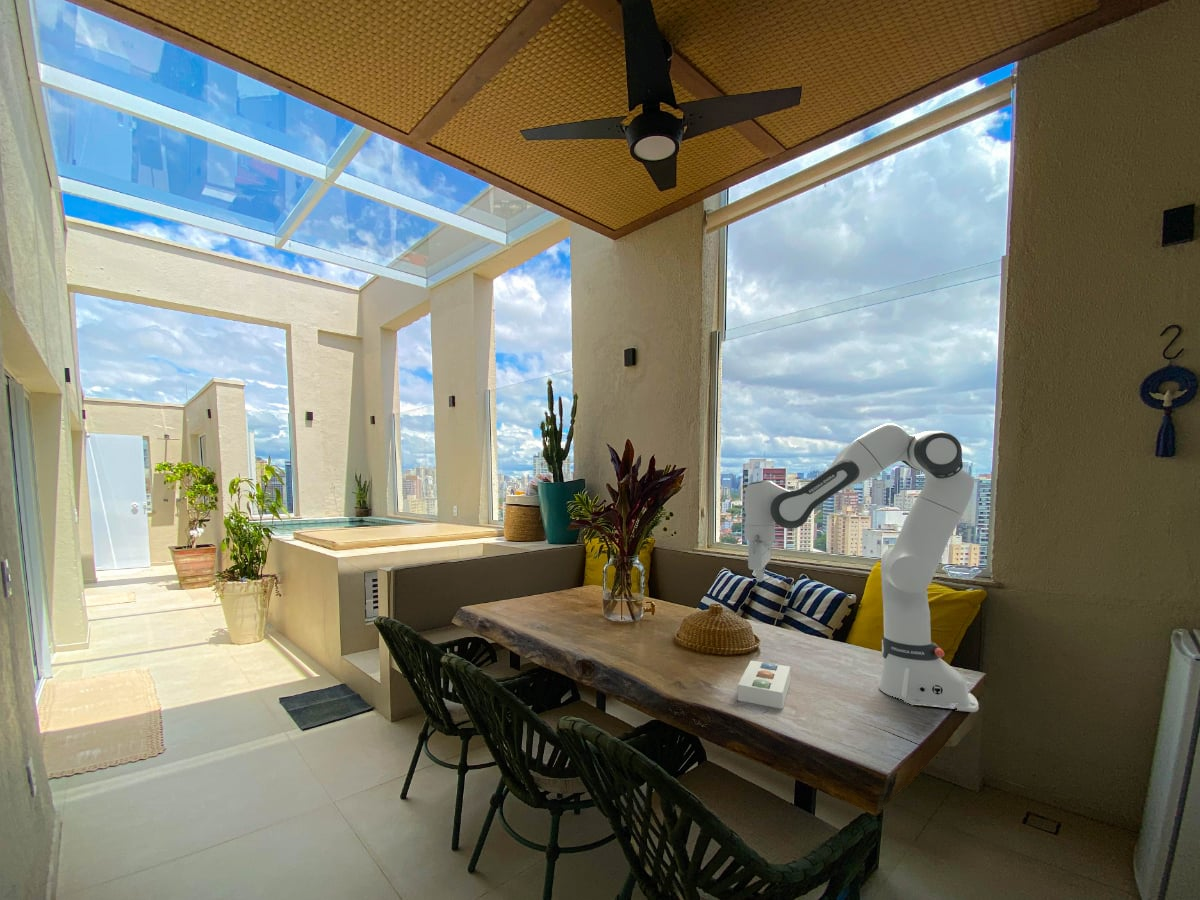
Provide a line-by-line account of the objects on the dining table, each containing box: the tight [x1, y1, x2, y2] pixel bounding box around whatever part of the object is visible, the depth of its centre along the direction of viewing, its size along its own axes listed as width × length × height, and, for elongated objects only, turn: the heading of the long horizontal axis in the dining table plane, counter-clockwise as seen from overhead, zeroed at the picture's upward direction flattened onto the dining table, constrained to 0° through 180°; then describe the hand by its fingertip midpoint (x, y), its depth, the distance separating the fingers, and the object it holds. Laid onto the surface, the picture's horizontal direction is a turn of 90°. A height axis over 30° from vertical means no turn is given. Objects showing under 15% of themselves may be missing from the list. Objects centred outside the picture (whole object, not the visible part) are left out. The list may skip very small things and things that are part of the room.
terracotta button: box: [758, 670, 772, 687], centre depth 139 cm, size 4×4×3 cm
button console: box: [737, 660, 792, 710], centre depth 139 cm, size 11×20×4 cm, turn 154°
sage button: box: [754, 679, 769, 689], centre depth 133 cm, size 4×4×3 cm
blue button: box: [762, 661, 776, 678], centre depth 145 cm, size 4×4×3 cm
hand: (760, 580), depth 152 cm, fingers closed
